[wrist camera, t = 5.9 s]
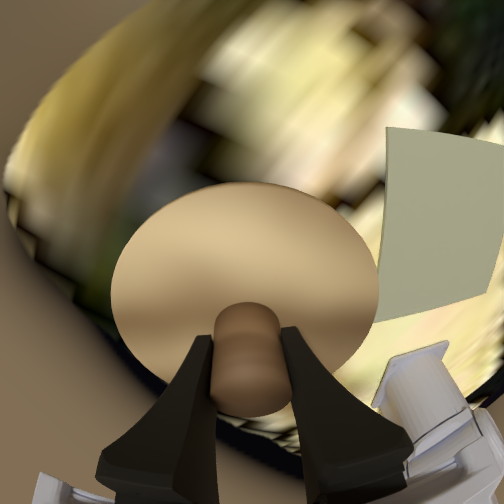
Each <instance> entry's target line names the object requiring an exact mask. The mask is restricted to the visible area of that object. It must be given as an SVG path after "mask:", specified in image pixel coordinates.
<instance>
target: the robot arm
mask: <svg viewBox="0 0 504 504" xmlns="http://www.w3.org/2000/svg"><path fill="white" fill-rule="evenodd" d="M281 338H282V343H283V348H284V354H285V358H286V362H287V366H288V372H289V377H290V382H291V388H292V398H291V400H290V401H291V405H292V408H293V412H294V416H295V419H296V424H297V429H298V435H299V442H300V449H301V456H302V463H303V470H304V478H305V488H306V496H307V504H499V503H498V501H497V498H496V496H495V493H494V491H495V489H496V488H497V486H498V484H499V483H500V481H501V479H502V478H503V476H504V440H503V438H502V436H501V434H500V432H499V430H498V428H497V426H496V424H495V422H494V421H493V419H492V417H491V416H490V414H489V413H488V411H487V410H486V409H485V408H481V409H480V408H477V409H476V410H474V411H473V410H472V409H470V407H469V405H468V403H467V402H466V400H465V398H464V396H463V395H462V393H461V391H460V390H459V388H458V386H457V385H456V383H455V381H454V380H453V378H452V376H451V375H450V373H449V372H448V370H447V368H446V367H445V365H444V364H443V362H442V361H441V360H442V358H443V356H444V354H445V352H446V350H447V348H448V346H449V341H448V340H446V341H443V342H440V343H438V344H435V345H432V346H429V347H426V348H422V349H419V350H416V351H413V352H409V353H406V354H403V355H399V356H396V357H393V358H391V359H390V361H389V363H388V366H387V369H386V371H385V374H384V376H383V379H382V381H381V384H380V386H379V389H378V391H377V393H376V396H375V398H374V400H373V403H372V405H371V406H372V408H377V407H380V410H381V412H382V415H383V416H381V415H380V414H378V413H377V412H375V411H373V410H372V409H371V408H369V407H368V406H367V405H365V404H364V403H363V402H361V401H360V400H359V399H357V398H356V397H355V396H354V395H352V394H351V393H350V392H349V391H348V390H347V389H346V388H345V387H343V386H342V385H341V384H340V383H339V382H338V381H337V380H336V379H335V378H334V377H333V376H332V374H331V373H330V372H329V371H328V370H327V369H326V368H325V367H324V365H323V364H322V363H321V362H320V361H319V359H318V358H317V357H316V355H315V354H314V353H313V351H312V350H311V349H310V347H309V346H308V344H307V343H306V341H305V340H304V338H303V337H302V335H301V333H300V331H299V330H298V328H297V327H296V326H291V327H283V328H281ZM212 352H213V340H212V336H211V334H209V335H197V336H196V337H195V339H194V341H193V343H192V346H191V348H190V350H189V352H188V353H187V355H186V357H185V359H184V361H183V363H182V364H181V366H180V368H179V370H178V371H177V373H176V375H175V376H174V378H173V379H172V381H171V382H170V384H169V385H168V387H167V388H166V390H165V391H164V392H163V394H162V395H161V396H160V398H159V399H158V400H157V402H156V403H155V404H154V405H153V406H152V408H151V409H150V410H149V411H148V412H147V413H146V414H145V415H144V416H143V417H142V418H141V419H140V420H139V421H138V422H137V423H136V424H135V425H134V426H133V427H132V428H130V429H129V430H128V431H127V432H126V433H125V434H124V435H123V436H121V437H120V438H119V439H117V440H116V441H115V442H113V443H112V444H110V445H109V446H108V447H106V448H105V449H104V450H102V453H101V455H100V458H99V461H98V466H97V470H96V475H95V478H96V480H97V481H98V482H100V483H101V484H102V485H104V486H106V487H108V488H109V489H111V490H113V491H115V492H116V496H115V500H113V499H109V498H106V497H102V496H99V495H96V494H92V493H89V492H86V491H83V490H80V489H77V488H74V487H72V486H70V485H69V484H67V483H66V482H64V481H62V480H60V479H58V478H56V477H53V476H51V475H49V474H46V473H44V472H40V474H39V478H38V481H37V485H36V489H35V493H34V497H33V501H32V504H220V503H219V495H218V484H217V470H216V449H215V426H216V417H217V409H216V408H215V407H214V406H213V405H212V403H211V401H210V381H211V365H212Z"/></svg>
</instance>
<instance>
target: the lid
mask: <svg viewBox="0 0 504 504" xmlns="http://www.w3.org/2000/svg"><path fill="white" fill-rule="evenodd" d="M378 301H379V279H378V273H377V268H376V265H375V262H374V260H373V257H372V254H371V252H370V250H369V249H368V247H367V245H366V243H365V242H364V240H363V239H362V237H361V236H360V235H359V234H358V233H357V231H356V230H355V229H354V228H353V227H352V226H351V224H350V223H349V222H348V221H347V220H346V219H345V218H344V217H342V216H341V215H340V214H339V213H338V212H336V211H335V210H334V209H333V208H332V207H330V206H329V205H327V204H325V203H324V202H322V201H320V200H319V199H317V198H315V197H314V196H311V195H309V194H306V193H304V192H301V191H299V190H296V189H294V188H290V187H286V186H281V185H277V184H273V183H263V182H252V181H250V182H229V183H223V184H218V185H212V186H207V187H204V188H201V189H198V190H195V191H192V192H190V193H187V194H185V195H183V196H181V197H179V198H177V199H175V200H173V201H171V202H169V203H167V204H166V205H165V206H163V207H162V208H161V209H159V210H158V211H156V212H155V213H154V214H152V215H151V216H150V217H149V218H148V219H147V220H146V221H145V222H144V223H143V224H142V225H141V226H140V227H139V229H138V230H137V231H136V232H135V234H134V235H133V236H132V238H131V239H130V241H129V242H128V243H127V245H126V246H125V248H124V249H123V251H122V253H121V255H120V257H119V260H118V262H117V264H116V267H115V271H114V274H113V278H112V286H111V303H112V311H113V315H114V319H115V323H116V325H117V328H118V330H119V333H120V335H121V336H122V338H123V340H124V342H125V343H126V345H127V347H128V348H129V349H130V350H131V352H132V353H133V354H134V356H135V357H136V358H137V359H138V360H139V361H140V362H141V363H142V364H143V365H144V366H145V367H147V368H148V369H149V370H150V371H151V372H153V373H154V374H155V375H157V376H158V377H160V378H161V379H163V380H165V381H166V382H168V383H170V382H171V381H172V379H173V378H174V376H175V375H176V373H177V371H178V370H179V368H180V366H181V364H182V363H183V361H184V359H185V357H186V355H187V353H188V352H189V350H190V348H191V346H192V343H193V341H194V339H195V337H196V336H197V335H209V334H211V336H212V340H213V352H212V365H211V381H210V401H211V403H212V405H213V406H214V407H215V408H216V409H218V410H219V411H221V412H223V413H225V414H228V415H231V416H236V417H260V416H265V415H269V414H272V413H275V412H277V411H279V410H281V409H282V408H284V407H285V406H286V405H287V404H288V403H289V402H290V400H291V398H292V388H291V382H290V377H289V372H288V366H287V362H286V358H285V354H284V348H283V343H282V338H281V328H283V327H291V326H296V327H297V328H298V330H299V331H300V333H301V335H302V337H303V338H304V340H305V341H306V343H307V344H308V346H309V347H310V349H311V350H312V351H313V353H314V354H315V355H316V357H317V358H318V359H319V361H320V362H321V363H322V364H323V365H324V367H325V368H326V369H327V370H328V371H329V372H330V373H331V374H332V373H333V372H335V371H336V370H337V369H338V368H340V367H341V366H342V365H343V364H344V363H345V362H346V361H347V360H348V359H349V358H350V357H351V356H352V355H353V354H354V353H355V352H356V351H357V349H358V348H359V347H360V346H361V344H362V343H363V341H364V339H365V338H366V336H367V335H368V333H369V331H370V328H371V326H372V324H373V322H374V319H375V315H376V312H377V308H378Z"/></svg>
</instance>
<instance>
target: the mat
mask: <svg viewBox="0 0 504 504" xmlns="http://www.w3.org/2000/svg"><path fill="white" fill-rule="evenodd" d="M503 234H504V146H503V145H499V144H495V143H491V142H487V141H482V140H478V139H473V138H468V137H462V136H457V135H451V134H445V133H438V132H431V131H424V130H415V129H406V128H395V127H386V181H385V200H384V214H383V225H382V235H381V244H380V253H379V260H378V267H377V273H378V279H379V301H378V308H377V312H376V315H375V319H374V322H373V323H376V322H380V321H385V320H389V319H394V318H398V317H403V316H407V315H411V314H415V313H419V312H423V311H427V310H431V309H434V308H438V307H442V306H445V305H449V304H452V303H456V302H459V301H462V300H465V299H469V298H472V297H475V296H478V295H481V294H484V293H486V291H487V288H488V286H489V283H490V280H491V277H492V274H493V271H494V267H495V264H496V261H497V257H498V254H499V250H500V246H501V242H502V238H503Z"/></svg>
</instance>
